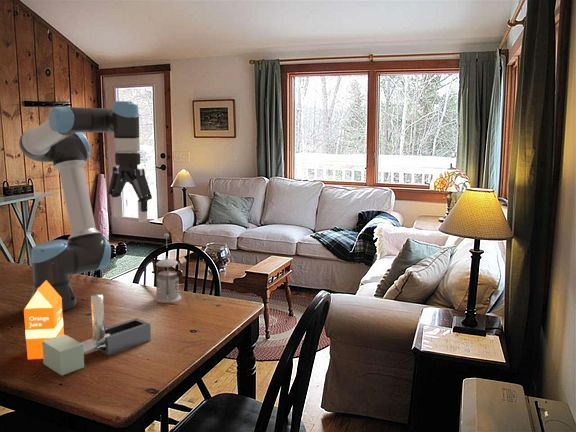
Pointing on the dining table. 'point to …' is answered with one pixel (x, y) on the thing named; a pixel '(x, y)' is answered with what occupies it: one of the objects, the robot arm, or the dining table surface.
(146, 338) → the gray open box
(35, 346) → the orange juice
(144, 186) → the robot arm
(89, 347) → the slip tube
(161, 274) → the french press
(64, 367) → the grey-green block
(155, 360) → the dining table surface
